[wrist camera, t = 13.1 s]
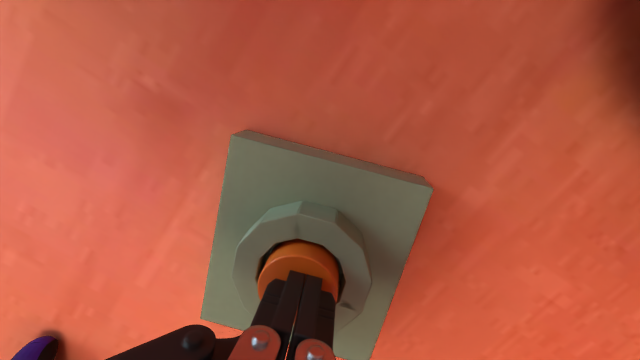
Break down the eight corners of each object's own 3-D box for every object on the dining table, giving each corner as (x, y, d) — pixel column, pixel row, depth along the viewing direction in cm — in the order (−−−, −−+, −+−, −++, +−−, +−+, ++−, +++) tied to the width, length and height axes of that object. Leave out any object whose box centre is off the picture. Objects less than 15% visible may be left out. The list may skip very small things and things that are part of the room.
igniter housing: (245, 129, 17) (215, 139, 13) (423, 176, 17) (445, 201, 13) (215, 295, 20) (183, 343, 16) (365, 337, 20) (369, 395, 16)
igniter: (274, 228, 15) (265, 246, 13) (347, 248, 15) (347, 268, 13) (260, 290, 16) (250, 314, 14) (328, 309, 16) (326, 335, 14)
